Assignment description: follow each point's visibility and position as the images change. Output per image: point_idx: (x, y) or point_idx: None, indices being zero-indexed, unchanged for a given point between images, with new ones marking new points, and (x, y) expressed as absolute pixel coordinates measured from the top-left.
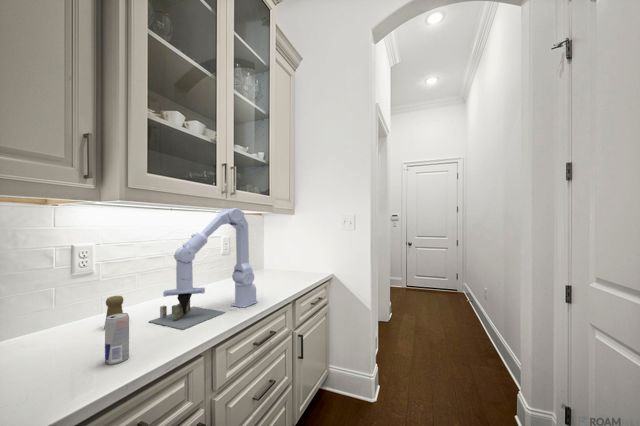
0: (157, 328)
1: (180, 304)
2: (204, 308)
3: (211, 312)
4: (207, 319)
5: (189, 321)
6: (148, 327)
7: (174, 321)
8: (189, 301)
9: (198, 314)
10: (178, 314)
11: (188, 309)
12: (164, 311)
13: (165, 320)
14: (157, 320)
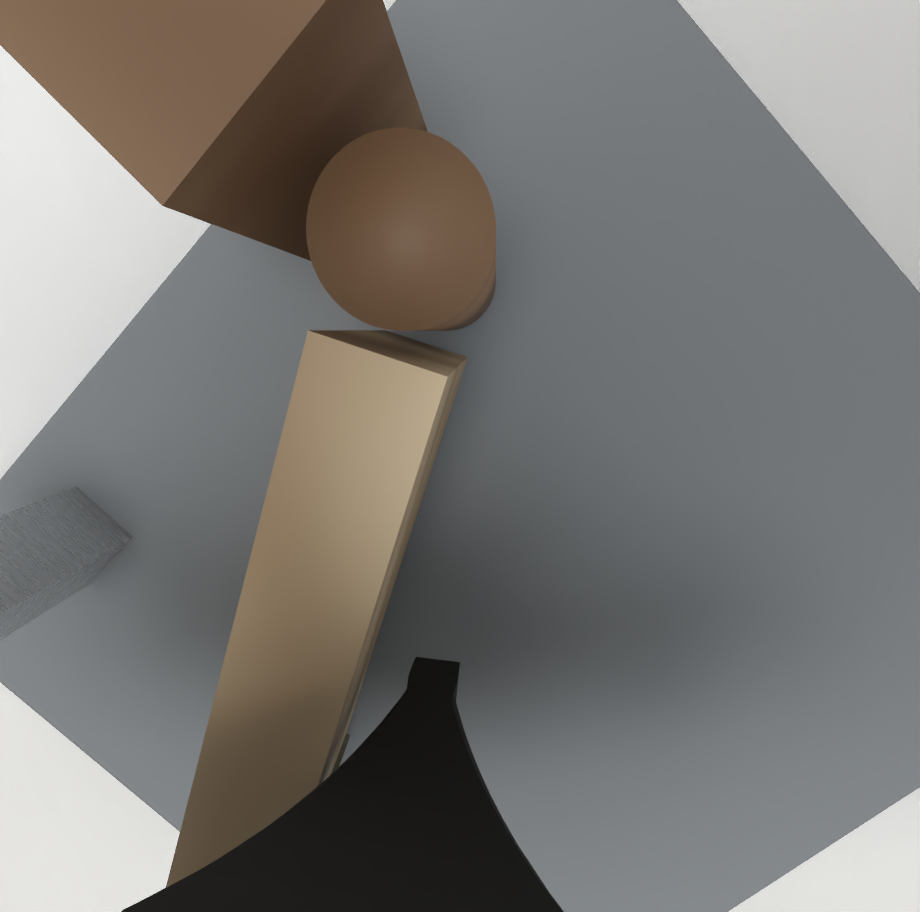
0: (145, 881)
1: (282, 814)
2: (803, 172)
3: (914, 541)
4: (800, 858)
5: (532, 853)
6: (12, 801)
7: None
8: (478, 300)
9: (665, 569)
10: None
11: (463, 327)
12: (6, 624)
13: (156, 665)
14: None
